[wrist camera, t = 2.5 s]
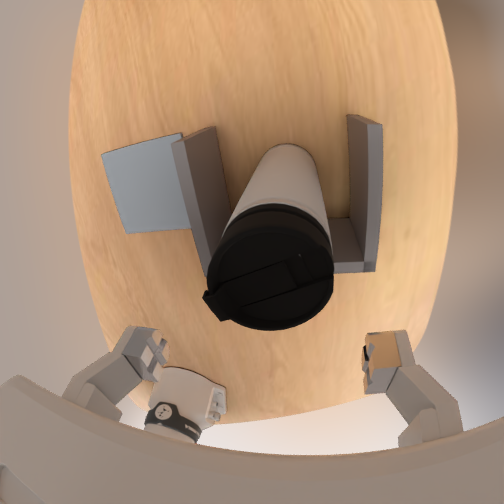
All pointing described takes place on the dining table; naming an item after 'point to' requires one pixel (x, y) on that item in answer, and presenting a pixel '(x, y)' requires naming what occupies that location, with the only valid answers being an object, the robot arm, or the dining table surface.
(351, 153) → the grey u-shaped channel
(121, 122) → the dining table surface
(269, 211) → the travel mug
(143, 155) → the mat
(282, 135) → the dining table surface
